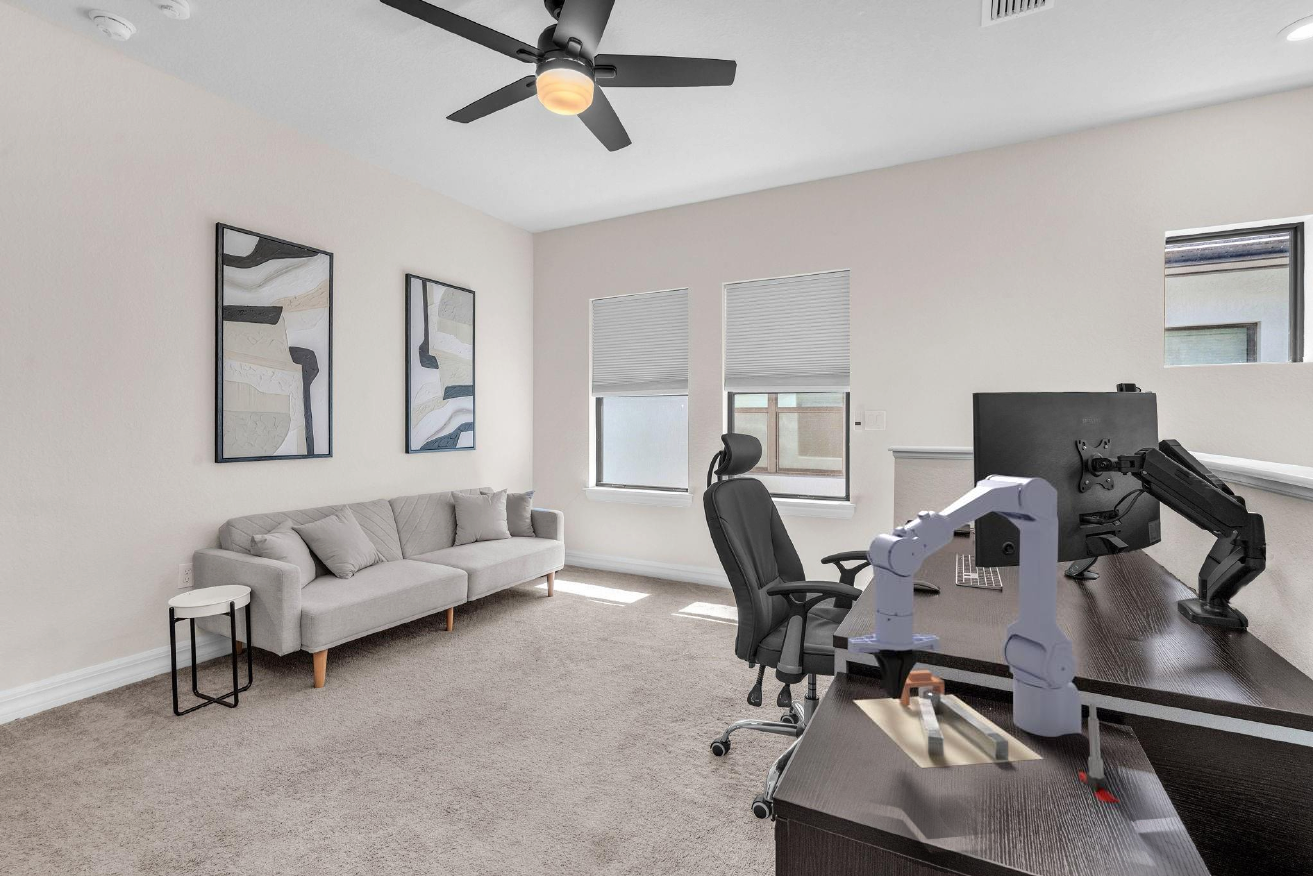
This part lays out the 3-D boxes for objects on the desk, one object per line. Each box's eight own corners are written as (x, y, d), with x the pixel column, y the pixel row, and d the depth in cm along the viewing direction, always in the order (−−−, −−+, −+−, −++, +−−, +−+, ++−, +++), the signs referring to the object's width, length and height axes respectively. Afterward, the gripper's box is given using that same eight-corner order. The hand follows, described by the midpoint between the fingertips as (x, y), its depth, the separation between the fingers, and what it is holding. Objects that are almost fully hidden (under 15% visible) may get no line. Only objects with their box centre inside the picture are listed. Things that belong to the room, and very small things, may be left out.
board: (952, 699, 112) (952, 694, 112) (1043, 765, 90) (1043, 758, 90) (853, 705, 110) (853, 700, 110) (921, 774, 87) (921, 767, 87)
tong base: (928, 698, 111) (928, 681, 111) (1008, 759, 90) (1008, 738, 90) (909, 699, 110) (909, 682, 110) (984, 761, 89) (984, 740, 89)
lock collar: (936, 697, 110) (936, 669, 110) (944, 703, 108) (944, 674, 108) (898, 700, 109) (898, 671, 109) (905, 705, 107) (905, 676, 107)
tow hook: (1054, 815, 79) (1125, 814, 78) (1049, 719, 79) (1120, 717, 78) (1018, 779, 87) (1083, 778, 87) (1014, 692, 87) (1078, 690, 87)
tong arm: (931, 714, 103) (931, 699, 103) (943, 755, 90) (943, 738, 90) (917, 712, 104) (917, 697, 104) (928, 752, 91) (928, 736, 91)
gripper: (922, 602, 98) (922, 683, 98) (839, 605, 96) (839, 687, 96) (948, 615, 91) (948, 702, 91) (859, 618, 89) (859, 707, 89)
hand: (893, 696), depth 93 cm, fingers closed
